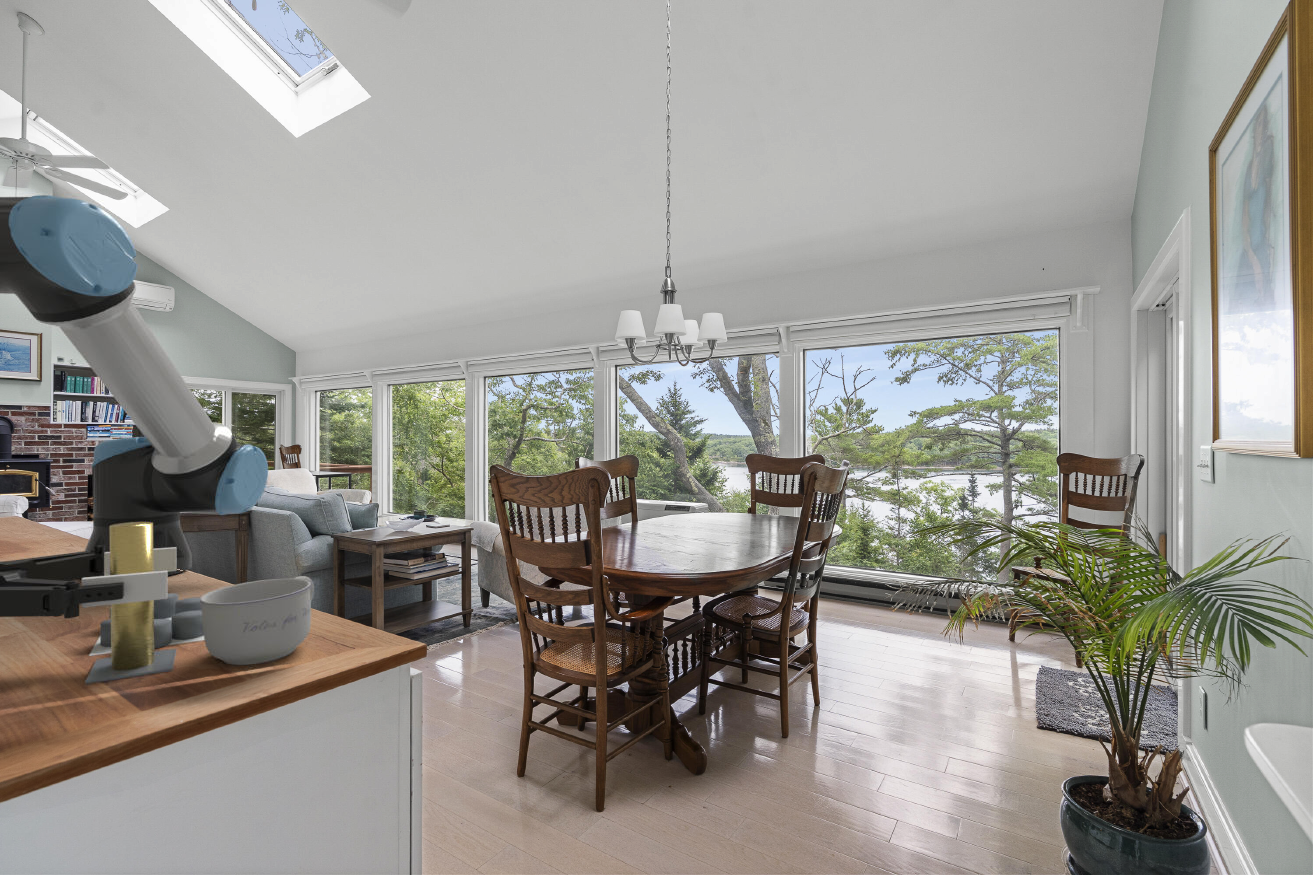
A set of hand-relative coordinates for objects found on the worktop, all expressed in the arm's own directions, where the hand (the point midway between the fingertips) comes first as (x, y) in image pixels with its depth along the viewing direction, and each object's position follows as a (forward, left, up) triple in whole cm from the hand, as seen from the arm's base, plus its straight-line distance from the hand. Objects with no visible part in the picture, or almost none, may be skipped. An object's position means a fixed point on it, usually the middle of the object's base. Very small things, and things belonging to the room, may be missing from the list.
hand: (172, 570), depth 71 cm
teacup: (+1, +9, -11) cm, 14 cm away
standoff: (0, -3, -10) cm, 10 cm away
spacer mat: (-14, -2, -10) cm, 18 cm away
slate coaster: (0, -3, -10) cm, 11 cm away
